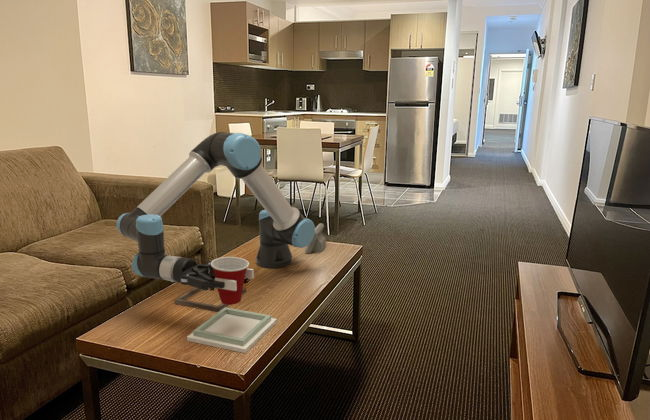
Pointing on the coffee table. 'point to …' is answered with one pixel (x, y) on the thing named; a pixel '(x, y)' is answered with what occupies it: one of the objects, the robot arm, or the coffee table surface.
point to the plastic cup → (230, 277)
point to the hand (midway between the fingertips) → (244, 279)
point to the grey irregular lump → (317, 241)
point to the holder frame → (183, 301)
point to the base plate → (233, 329)
